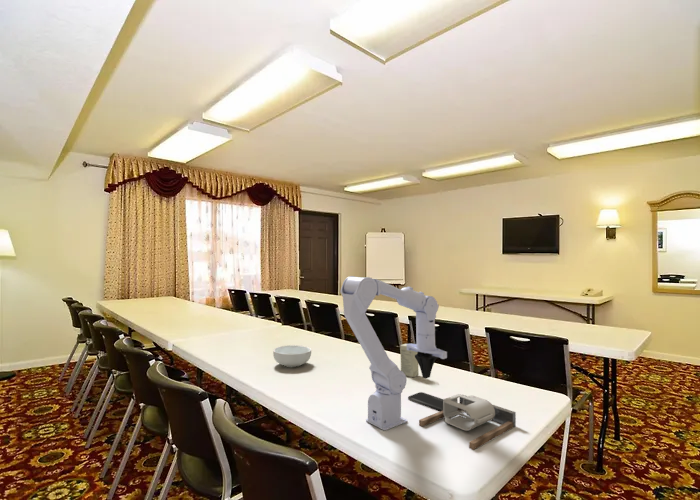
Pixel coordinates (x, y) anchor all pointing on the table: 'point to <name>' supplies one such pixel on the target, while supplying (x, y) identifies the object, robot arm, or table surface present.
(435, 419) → the rail channel
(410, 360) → the skincare box
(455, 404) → the cable organizer
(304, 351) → the cereal bowl
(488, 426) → the table surface
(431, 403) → the phone
